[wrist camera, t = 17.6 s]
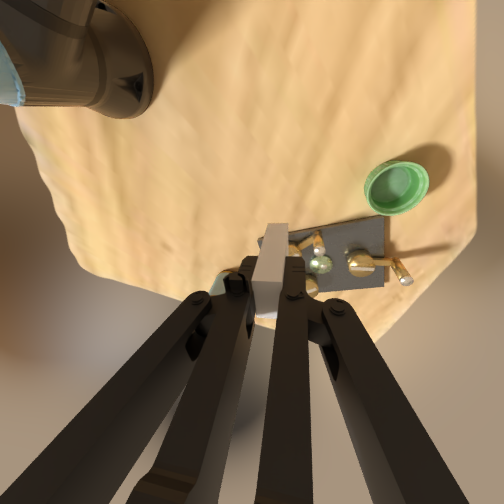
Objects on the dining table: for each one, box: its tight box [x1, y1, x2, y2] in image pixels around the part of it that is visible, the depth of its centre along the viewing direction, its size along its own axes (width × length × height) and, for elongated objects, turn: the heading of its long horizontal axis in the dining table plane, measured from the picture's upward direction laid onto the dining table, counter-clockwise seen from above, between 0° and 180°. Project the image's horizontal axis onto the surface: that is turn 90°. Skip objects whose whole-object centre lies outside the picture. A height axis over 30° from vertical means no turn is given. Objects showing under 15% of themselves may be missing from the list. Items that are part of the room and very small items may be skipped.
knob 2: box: [306, 275, 319, 298], centre depth 51 cm, size 10×5×7 cm, turn 128°
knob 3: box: [347, 250, 414, 286], centre depth 43 cm, size 11×5×7 cm, turn 94°
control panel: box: [257, 215, 384, 293], centre depth 49 cm, size 26×18×2 cm
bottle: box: [209, 271, 232, 296], centre depth 53 cm, size 7×7×15 cm
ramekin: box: [364, 160, 429, 216], centre depth 36 cm, size 9×9×4 cm
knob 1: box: [288, 231, 326, 256], centre depth 44 cm, size 10×5×7 cm, turn 133°
